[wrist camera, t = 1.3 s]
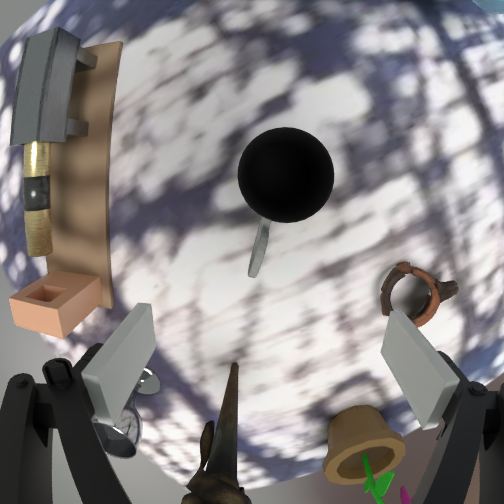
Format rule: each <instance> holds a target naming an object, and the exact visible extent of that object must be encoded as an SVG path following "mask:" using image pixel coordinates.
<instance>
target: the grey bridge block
mask: <svg viewBox="0 0 504 504" xmlns="http://www.w3.org/2000/svg"><path fill="white" fill-rule="evenodd" d="M80 41H81V39H79V38H77V37H76V36H74V35H72V34H71V33H69V32H67V31H65V30H64V29H62V28H60V27H56V28H53V29H50V30H47V31H44V32H42V33H39V34H36V35H34V36H31V37H29V38H27V40H26V44H25V48H24V52H23V56H22V61H21V65H20V70H19V75H18V81H17V86H16V92H15V99H14V106H13V115H12V124H11V136H10V146H25V143H32V142H39V141H42V142H51V144H53V143H62V142H66V138H76V137H86V136H88V128H89V122H85V121H79V120H74V119H68V115H69V106H70V98H71V90H72V84H73V77H74V73H78V72H83V71H88V70H94V69H96V65H97V59H98V56H96V55H94V54H92V53H91V52H89V51H87V50H85V49H84V48H82V47H80V46H79V45H80Z"/></svg>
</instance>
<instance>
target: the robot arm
mask: <svg viewBox="0 0 504 504" xmlns="http://www.w3.org/2000/svg"><path fill="white" fill-rule="evenodd" d="M472 1H473V2H474V3H476V4H477V5H478V6H479V7H480V8H482V9H483V10H485V11H488V12H490V13H496V14H503V13H504V0H472ZM155 348H156V340H155V333H154V325H153V316H152V307H151V304H148V303H138V304H137V305H136V306H135V307H134V308H133V310H132V311H131V312H130V313H129V314H128V316H127V317H126V318H125V319H124V320H123V322H122V323H121V324H120V325H119V326H118V328H117V329H116V330H115V331H114V332H113V334H112V335H111V336H110V337H109V339H108V340H107V341H106V342H105V344H101V343H97V344H95V345H93V346H92V347H90V348H89V349H88V350H87V351H86V353H85V355H83V356H82V357H81V360H79V361H78V362H77V363H76V365H75V366H74V367H72V364H71V362H70V361H69V360H67V359H64V358H55V359H52V360H49V361H48V362H46V363H45V364H44V366H43V368H42V371H43V374H44V377H45V379H46V382H47V384H40V383H39V384H38V383H35V381H34V379H33V377H32V376H31V375H29V374H26V373H22V374H17V375H15V376H13V377H12V378H11V379H10V380H9V382H8V385H7V389H6V392H5V395H4V398H3V402H2V405H1V409H0V504H53V501H52V438H53V428H56V429H58V431H59V435H60V439H61V442H62V446H63V449H64V453H65V455H66V459H67V462H68V465H69V468H70V471H71V474H72V477H73V479H74V482H75V485H76V487H77V490H78V492H79V495H80V497H81V500H82V502H83V504H132V503H131V501H130V499H129V497H128V496H127V494H126V492H125V490H124V488H123V486H122V485H121V483H120V481H119V479H118V477H117V475H116V473H115V471H114V469H113V467H112V465H111V463H110V461H109V459H108V457H107V455H106V452H105V450H104V448H103V446H102V444H101V441H100V439H99V437H98V434H97V432H96V430H95V427H94V425H93V422H92V420H91V419H92V417H93V415H94V414H96V417H97V419H98V422H100V423H104V424H108V425H112V426H114V425H115V423H116V421H117V419H118V417H119V415H120V413H121V412H122V410H123V408H124V406H125V404H126V402H127V400H128V398H129V396H130V394H131V392H132V391H133V389H134V387H135V385H136V383H137V381H138V379H139V377H140V376H141V374H142V372H143V370H144V368H145V366H146V364H147V363H148V361H149V359H150V357H151V355H152V353H153V352H154V350H155ZM381 354H382V356H383V358H384V359H385V361H386V363H387V365H388V366H389V368H390V370H391V372H392V373H393V375H394V377H395V379H396V380H397V382H398V384H399V386H400V388H401V390H402V391H403V393H404V395H405V397H406V399H407V401H408V402H409V404H410V406H411V408H412V410H413V412H414V414H415V415H416V417H417V419H418V421H419V423H420V425H421V427H422V429H423V430H426V429H430V428H435V427H437V426H438V424H439V422H440V420H441V418H443V420H444V421H445V425H444V426H443V428H442V430H441V432H440V433H439V435H438V437H437V440H438V442H437V444H436V447H435V449H434V452H433V454H432V457H431V459H430V461H429V464H428V466H427V468H426V471H425V473H424V475H423V477H422V480H421V481H420V484H419V486H418V488H417V490H416V492H415V494H414V496H413V498H412V500H411V501H410V503H409V504H463V503H464V500H465V497H466V494H467V491H468V488H469V485H470V481H471V478H472V474H473V471H474V467H475V463H476V459H477V455H478V451H479V460H480V500H479V504H504V383H503V384H502V385H501V387H500V389H499V391H488V390H487V389H486V387H485V386H484V385H483V384H481V383H479V382H474V381H471V382H469V380H468V379H467V378H466V377H465V375H464V374H463V373H462V372H461V371H460V369H459V368H457V366H456V364H455V363H453V361H452V360H451V359H450V357H449V356H448V355H446V354H445V353H443V352H442V351H436V350H435V348H434V347H433V346H432V345H431V344H430V342H429V341H428V340H427V339H426V338H425V336H424V335H423V334H422V333H421V332H420V331H419V329H418V328H417V327H416V326H415V325H414V324H413V323H412V321H411V320H410V319H409V318H408V317H407V316H406V315H405V313H404V312H403V311H390V315H389V320H388V324H387V329H386V333H385V337H384V341H383V345H382V349H381Z"/></svg>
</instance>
